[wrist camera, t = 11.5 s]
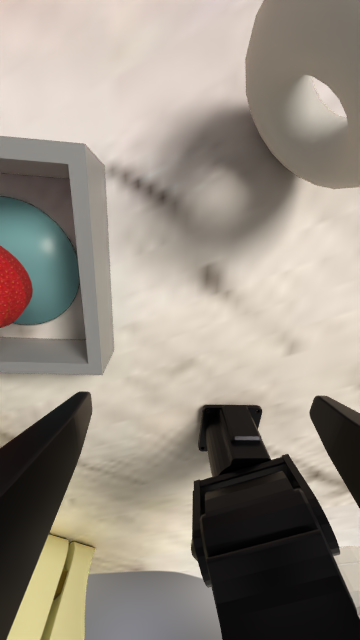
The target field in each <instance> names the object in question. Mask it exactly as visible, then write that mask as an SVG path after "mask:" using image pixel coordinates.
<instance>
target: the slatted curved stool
mask: <svg viewBox="0 0 360 640" xmlns="http://www.w3.org/2000/svg"><path fill="white" fill-rule="evenodd" d="M68 544H69V543H68V540H66V539H63V538H59V537H56V536H53V535H50V534H49V535H48V537H47V540H46V542H45V545H44V547H43V550H42V552H41V555H40V557H39V560H38V562H37V565H36V567H35V570H34V572H33V575H32V577H31V580H30V582H29V585H28V587H27V590H26V592H25V595H24V597H23V600H22V602H21V605H20V607H19V610H18V612H17V615H16V617H15V620H14V622H13V625H12V627H11V630H10V632H9V635H8V637H7V640H84V637H85V624H84V623H85V598H86V586H87V580H88V574H89V569H90V565H91V561H92V558H93V555H94V552H95V549H96V548H93V547H89V546H86V545H83V544H79V543H76V542H71V543H70V544H69V545H68Z"/></svg>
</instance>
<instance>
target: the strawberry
mask: <svg viewBox="0 0 360 640" xmlns="http://www.w3.org/2000/svg"><path fill="white" fill-rule="evenodd" d="M32 293H33V288H32V282H31V280H30V277H29V275H28V273H27V271H26V270H25V268H24V267H23V265H22V264H21V263H20V262H19V261H18V259H17V258H16V257H15V256H13V255H12V254H11V253H10V252H9V251H8V250H6V249H5V248H3V247H2V246H0V328H1V327H4V326H7V325H9V324H11V323H13V322H14V321H16V320H17V319H18V317H19V316H20V315H21V314H22V313H23V311H24V310H25V308H26V307H27V306H28V304H29V303H30V300H31V298H32Z"/></svg>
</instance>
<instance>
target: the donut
mask: <svg viewBox="0 0 360 640" xmlns="http://www.w3.org/2000/svg"><path fill="white" fill-rule="evenodd" d="M312 76H313V77H315V78H316V79H318V80H320V81H321V82H323V83H324V84H326V85H327V86H328V87H329V88H330V89H331V90H332V91H333V93H334V94H335V95H336V96H337V97H338V98H339V100H340V102H341V104H342V106H343V109H344V111H345V113H346V115H347V118H346V117H342V116H339V115H338V114H336V113H334V112H333V111H331V110H330V109H329V108H328V107H327V106H326V105H325V104H324V103H323V101H322V100H321V99H320V97H319V95H318V93H317V91H316V89H315V87H314V82H313V78H312ZM246 96H247V100H248V104H249V108H250V112H251V116H252V118H253V120H254V123H255V125H256V127H257V129H258V132H259V134H260V136H261V138H262V139H263V141H264V142H265V144H266V145H267V147H268V148H269V150H270V151H271V153H272V154H273V155H274V156H275V157H276V158H277V159H278V160H279V161H280V162H281V163H282V164H283V166H285V167H286V168H287V169H289V170H290V171H291V172H293V173H294V174H295V175H297V176H298V177H300V178H302V179H304V180H306V181H308V182H310V183H312V184H315V185H317V186H322V187H327V188H331V189H340V188H353V187H360V0H264V1H263V3H262V5H261V7H260V9H259V11H258V13H257V15H256V18H255V22H254V26H253V29H252V34H251V38H250V42H249V46H248V50H247V55H246Z"/></svg>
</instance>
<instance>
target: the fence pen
mask: <svg viewBox="0 0 360 640" xmlns="http://www.w3.org/2000/svg"><path fill="white" fill-rule="evenodd" d="M0 173H6V174H18V175H31V176H43V177H55V178H67V179H70V187H71V197H72V206H73V216H74V226H75V236H76V246H77V256H78V260H77V256H76V253H75V251H74V248H73V246H72V244H71V242H70V241H69V239H68V237H67V236H66V234H65V233H64V232H63V230H62V229H61V228H60V227H59V226H58V225H57V224H56V222H55V221H53V220H52V219H51V218H50V217H49V216H48V215H46V214H45V213H44V212H42V211H41V210H39V209H38V208H36V207H34V206H32V205H30V204H28V203H25V202H23V201H20V200H17V199H13V198H9V197H2V196H0V246H2V247H3V248H5V249H6V250H8V251H9V252H10V253H11V254H12V255H13V256H15V257H16V258H17V259H18V261H19V262H20V263H21V264H22V265H23V267H24V268H25V270H26V271H27V273H28V275H29V277H30V280H31V282H32V288H33V293H32V298H31V300H30V303H29V304H28V306H27V307H26V308H25V310H24V311H23V313H22V314H21V315H20V316H19V317H18V319H17V320H16V321H14V322H13V323H17V324H39V323H43V322H47V321H49V320H52V319H54V318H56V317H57V316H59V315H60V314H62V313H63V312H64V311H65V310H66V309H67V308H68V307H69V306H70V305H71V303H72V302H73V300H74V298H75V296H76V293H77V290H78V287H79V279H80V285H81V295H82V305H83V315H84V325H85V335H86V340H68V339H37V338H6V337H0V373H30V374H76V375H103V373H104V371H105V369H106V367H107V364H108V362H109V360H110V358H111V356H112V354H113V352H114V338H113V319H112V299H111V280H110V260H109V241H108V221H107V202H106V182H105V165H104V164H103V163H102V162H101V161H100V160H99V159H98V158H97V157H96V155H95V154H94V153H93V152H92V151H91V150H90V149H89V148H88V147H87V146H86V144H82V143H71V142H60V141H49V140H39V139H28V138H17V137H6V136H0Z"/></svg>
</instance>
